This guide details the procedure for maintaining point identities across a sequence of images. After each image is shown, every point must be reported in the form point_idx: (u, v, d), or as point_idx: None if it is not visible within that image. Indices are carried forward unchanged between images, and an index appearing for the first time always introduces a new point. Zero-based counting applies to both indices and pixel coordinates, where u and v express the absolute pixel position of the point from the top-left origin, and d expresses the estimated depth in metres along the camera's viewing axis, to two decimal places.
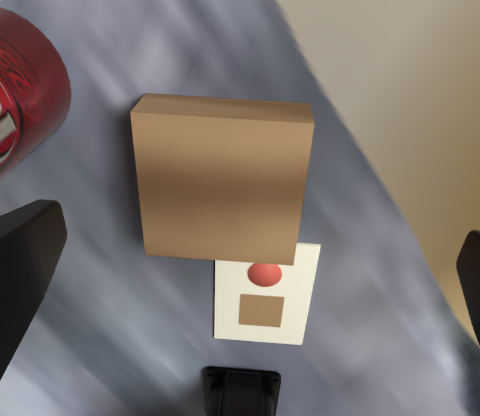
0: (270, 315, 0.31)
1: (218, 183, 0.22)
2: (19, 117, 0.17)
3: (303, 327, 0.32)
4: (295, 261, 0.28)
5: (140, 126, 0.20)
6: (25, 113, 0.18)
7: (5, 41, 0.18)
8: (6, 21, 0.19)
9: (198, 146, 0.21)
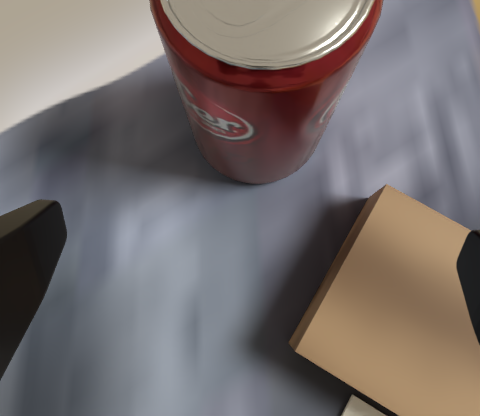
0: None
1: (436, 298, 0.19)
2: (333, 111, 0.18)
3: None
4: None
5: (387, 201, 0.20)
6: (331, 116, 0.18)
7: None
8: None
9: (434, 247, 0.19)
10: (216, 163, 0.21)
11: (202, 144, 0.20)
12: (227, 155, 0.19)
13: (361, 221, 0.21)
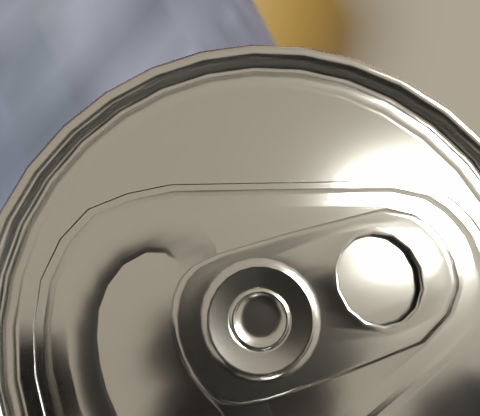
0: None
1: None
2: None
3: None
4: None
5: None
6: None
7: None
8: None
9: None
10: None
11: None
12: None
13: None
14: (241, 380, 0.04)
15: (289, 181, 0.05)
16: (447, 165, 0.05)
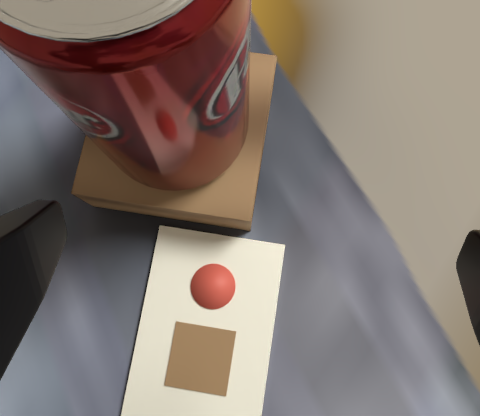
0: (213, 368, 0.21)
1: None
2: (236, 106, 0.15)
3: (261, 399, 0.21)
4: (253, 267, 0.22)
5: None
6: (236, 112, 0.15)
7: None
8: None
9: None
10: (119, 167, 0.18)
11: None
12: (117, 157, 0.16)
13: None
14: None
15: None
16: None
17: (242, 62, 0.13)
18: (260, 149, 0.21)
